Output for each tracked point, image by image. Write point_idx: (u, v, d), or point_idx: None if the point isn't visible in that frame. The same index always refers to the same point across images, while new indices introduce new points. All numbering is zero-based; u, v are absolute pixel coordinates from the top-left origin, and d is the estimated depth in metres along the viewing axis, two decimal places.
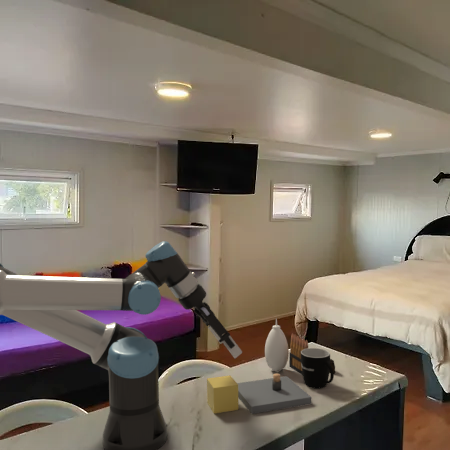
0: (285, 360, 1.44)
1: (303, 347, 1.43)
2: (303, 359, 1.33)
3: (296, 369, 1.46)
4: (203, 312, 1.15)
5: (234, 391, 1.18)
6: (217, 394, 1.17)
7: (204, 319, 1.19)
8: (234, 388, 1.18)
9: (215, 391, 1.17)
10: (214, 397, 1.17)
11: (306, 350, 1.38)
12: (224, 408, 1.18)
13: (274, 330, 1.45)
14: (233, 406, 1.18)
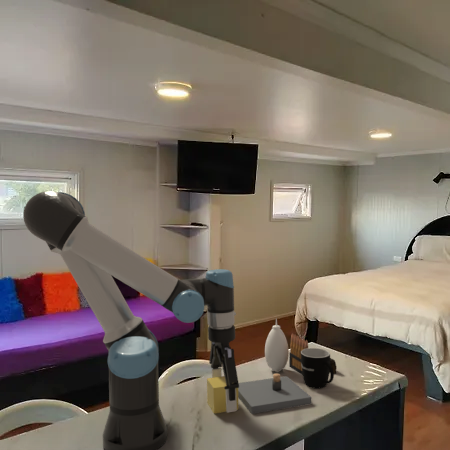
0: (285, 360, 1.44)
1: (303, 347, 1.43)
2: (303, 359, 1.33)
3: (296, 369, 1.46)
4: (227, 352, 1.14)
5: None
6: (217, 394, 1.17)
7: (221, 359, 1.17)
8: None
9: (215, 391, 1.17)
10: (214, 397, 1.17)
11: (306, 350, 1.38)
12: (224, 408, 1.18)
13: (274, 330, 1.45)
14: None
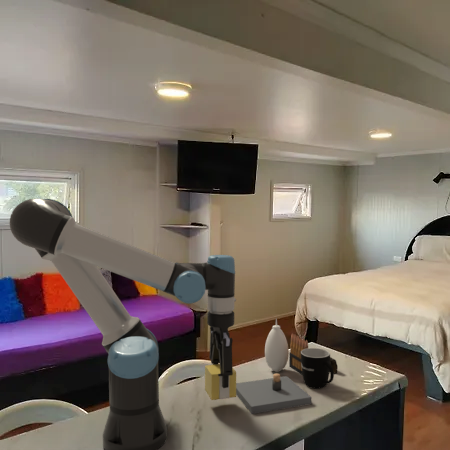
0: (285, 360, 1.44)
1: (303, 347, 1.43)
2: (303, 359, 1.33)
3: (296, 369, 1.46)
4: (225, 342, 1.14)
5: (232, 378, 1.18)
6: (215, 381, 1.17)
7: (218, 346, 1.17)
8: (232, 375, 1.18)
9: (213, 378, 1.17)
10: (212, 384, 1.17)
11: (306, 350, 1.38)
12: None
13: (274, 330, 1.45)
14: (231, 393, 1.18)
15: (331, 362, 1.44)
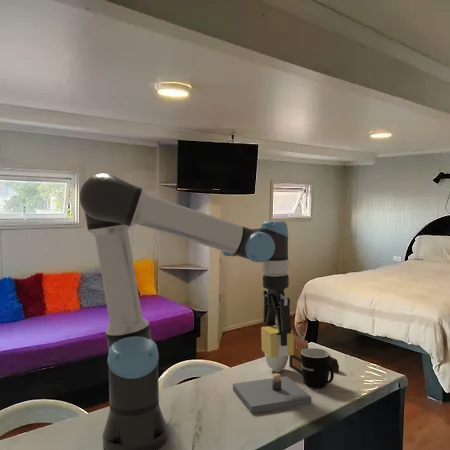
0: (285, 360, 1.44)
1: (303, 347, 1.43)
2: (303, 359, 1.33)
3: (296, 369, 1.46)
4: (283, 301, 1.19)
5: (290, 337, 1.24)
6: (274, 340, 1.23)
7: (275, 307, 1.23)
8: (289, 334, 1.24)
9: (272, 336, 1.22)
10: (271, 342, 1.22)
11: (306, 350, 1.38)
12: None
13: None
14: (288, 351, 1.24)
15: (332, 362, 1.44)
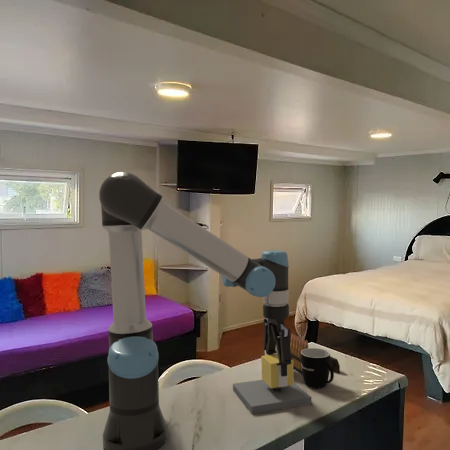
0: None
1: (303, 347, 1.43)
2: (303, 359, 1.33)
3: (296, 369, 1.46)
4: (284, 332, 1.20)
5: (290, 367, 1.24)
6: (274, 370, 1.23)
7: (276, 337, 1.23)
8: (289, 364, 1.24)
9: (272, 367, 1.23)
10: (271, 372, 1.23)
11: (306, 350, 1.38)
12: None
13: None
14: (289, 381, 1.24)
15: (333, 362, 1.44)
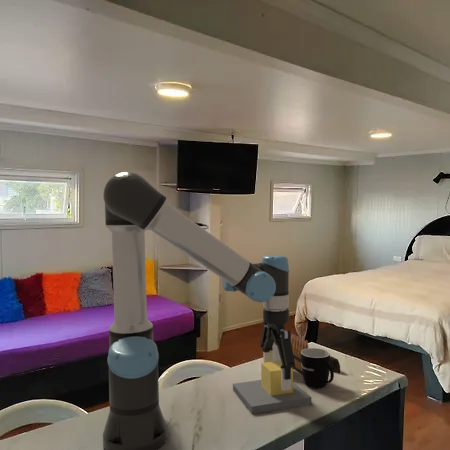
0: None
1: (303, 347, 1.43)
2: (303, 359, 1.33)
3: (296, 369, 1.46)
4: (284, 333, 1.20)
5: None
6: (274, 377, 1.23)
7: (276, 340, 1.23)
8: None
9: (272, 374, 1.23)
10: (271, 380, 1.23)
11: (306, 350, 1.38)
12: (280, 391, 1.24)
13: None
14: None
15: (333, 362, 1.45)
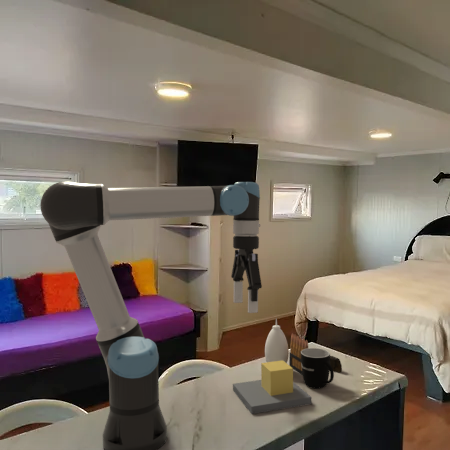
0: (285, 360, 1.44)
1: (303, 347, 1.43)
2: (303, 359, 1.33)
3: (296, 369, 1.46)
4: (251, 255, 1.20)
5: (290, 374, 1.24)
6: (274, 377, 1.23)
7: (245, 264, 1.23)
8: (289, 372, 1.24)
9: (272, 374, 1.23)
10: (271, 380, 1.23)
11: (306, 350, 1.38)
12: (280, 391, 1.24)
13: (274, 330, 1.45)
14: (288, 389, 1.24)
15: (335, 361, 1.45)
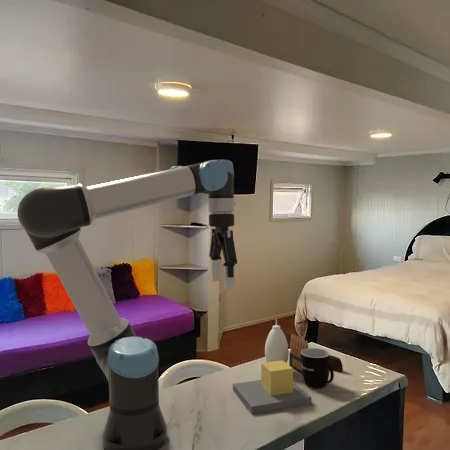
0: (285, 360, 1.44)
1: (303, 347, 1.43)
2: (303, 359, 1.33)
3: (296, 369, 1.46)
4: (226, 232, 1.21)
5: (290, 374, 1.24)
6: (274, 377, 1.23)
7: (221, 242, 1.24)
8: (289, 372, 1.24)
9: (272, 374, 1.23)
10: (271, 380, 1.23)
11: (306, 350, 1.38)
12: (280, 391, 1.24)
13: (274, 330, 1.45)
14: (288, 389, 1.24)
15: (336, 361, 1.45)
